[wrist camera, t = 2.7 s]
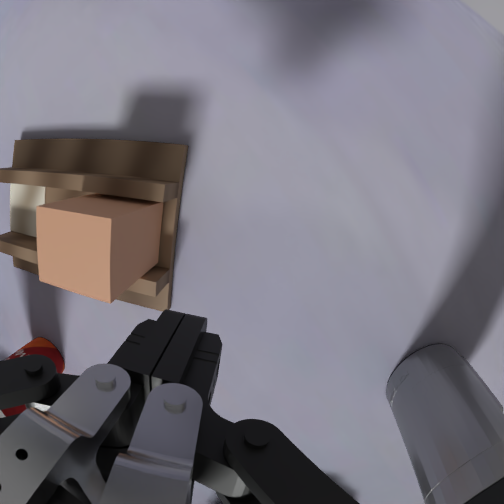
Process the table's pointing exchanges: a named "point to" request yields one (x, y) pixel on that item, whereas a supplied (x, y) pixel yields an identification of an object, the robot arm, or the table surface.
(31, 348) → the paper cup
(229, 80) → the table surface
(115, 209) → the block
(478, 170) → the table surface
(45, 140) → the chute
